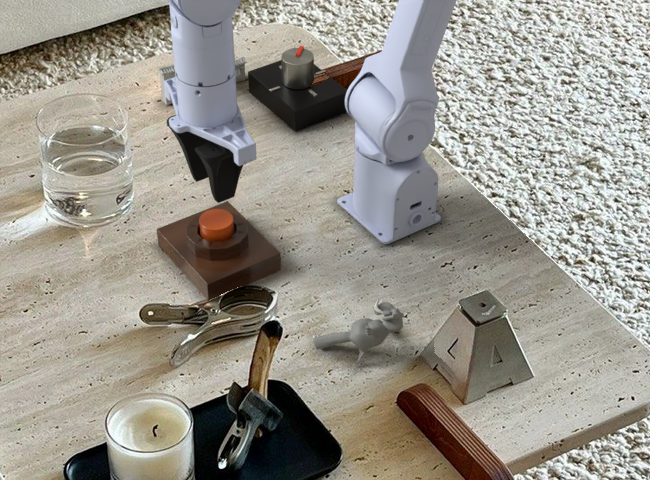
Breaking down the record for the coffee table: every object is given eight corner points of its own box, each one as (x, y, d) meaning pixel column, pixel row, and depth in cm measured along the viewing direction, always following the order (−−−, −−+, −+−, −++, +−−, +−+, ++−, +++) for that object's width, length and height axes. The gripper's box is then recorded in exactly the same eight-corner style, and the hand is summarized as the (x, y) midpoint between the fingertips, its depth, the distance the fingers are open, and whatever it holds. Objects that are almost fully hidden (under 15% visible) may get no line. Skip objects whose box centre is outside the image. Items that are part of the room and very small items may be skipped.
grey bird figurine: (324, 313, 123) (408, 294, 120) (336, 369, 123) (420, 352, 120) (294, 315, 113) (384, 295, 110) (307, 377, 113) (398, 358, 110)
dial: (308, 91, 147) (308, 64, 144) (277, 86, 147) (277, 59, 145) (317, 75, 149) (317, 48, 147) (287, 70, 150) (286, 43, 147)
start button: (240, 234, 126) (239, 221, 125) (211, 247, 124) (210, 233, 123) (223, 217, 128) (222, 204, 127) (194, 229, 126) (192, 216, 125)
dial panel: (349, 112, 149) (350, 90, 147) (294, 132, 146) (294, 110, 143) (301, 73, 155) (301, 51, 153) (247, 92, 152) (246, 70, 150)
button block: (281, 270, 127) (280, 241, 124) (208, 301, 124) (206, 272, 121) (228, 217, 134) (226, 188, 131) (158, 246, 130) (154, 217, 127)
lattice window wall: (241, 74, 155) (239, 33, 151) (248, 81, 154) (246, 40, 150) (159, 101, 151) (155, 60, 147) (165, 108, 150) (161, 66, 145)
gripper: (132, 50, 115) (146, 165, 125) (207, 119, 107) (216, 238, 116) (195, 29, 118) (204, 144, 128) (273, 95, 109) (276, 213, 119)
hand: (213, 187), depth 122 cm, fingers open, 4 cm apart
